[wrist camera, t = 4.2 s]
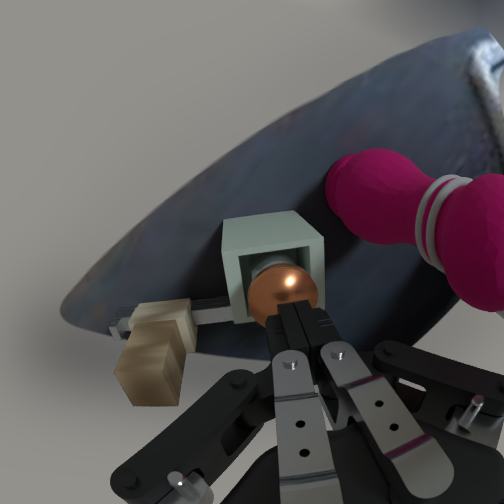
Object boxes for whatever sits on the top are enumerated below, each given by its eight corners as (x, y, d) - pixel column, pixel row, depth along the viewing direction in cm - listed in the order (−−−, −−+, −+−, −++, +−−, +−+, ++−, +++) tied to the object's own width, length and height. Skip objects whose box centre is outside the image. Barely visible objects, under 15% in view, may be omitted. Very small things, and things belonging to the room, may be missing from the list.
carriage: (189, 296, 24) (173, 370, 15) (198, 329, 26) (188, 406, 17) (138, 302, 24) (104, 371, 15) (149, 333, 25) (124, 406, 16)
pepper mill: (303, 172, 23) (521, 256, 4) (369, 134, 22) (586, 149, 3) (341, 241, 25) (500, 397, 6) (399, 202, 24) (579, 291, 5)
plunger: (293, 232, 20) (317, 263, 14) (296, 281, 21) (318, 323, 16) (239, 240, 20) (244, 274, 14) (246, 288, 21) (253, 335, 15)
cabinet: (293, 210, 24) (323, 237, 16) (297, 264, 25) (324, 309, 18) (221, 220, 23) (217, 252, 16) (229, 274, 25) (231, 324, 18)
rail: (296, 285, 26) (306, 303, 23) (297, 298, 27) (306, 318, 23) (120, 307, 25) (108, 327, 22) (124, 320, 26) (114, 340, 23)
